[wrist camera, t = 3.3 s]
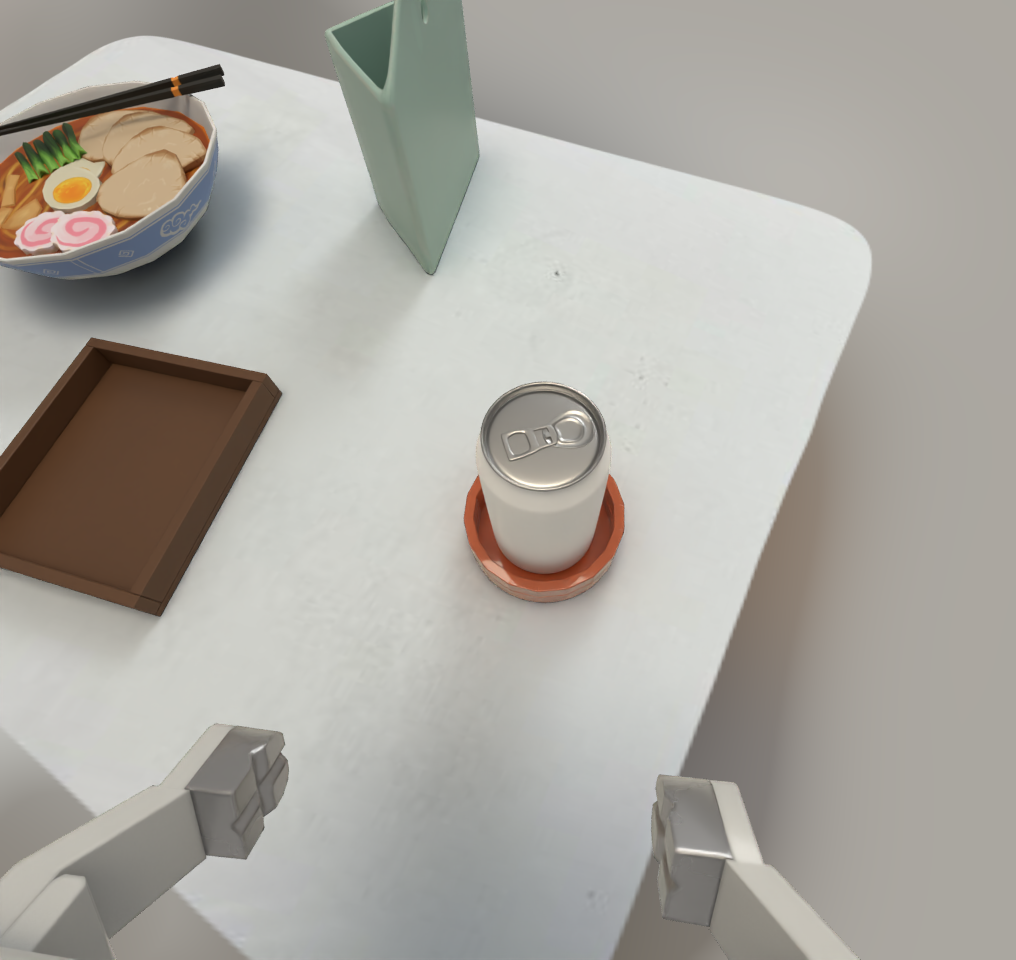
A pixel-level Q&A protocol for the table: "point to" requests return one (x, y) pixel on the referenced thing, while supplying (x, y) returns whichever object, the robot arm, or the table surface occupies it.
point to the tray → (127, 470)
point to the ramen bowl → (106, 176)
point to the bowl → (554, 583)
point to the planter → (411, 113)
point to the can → (543, 474)
